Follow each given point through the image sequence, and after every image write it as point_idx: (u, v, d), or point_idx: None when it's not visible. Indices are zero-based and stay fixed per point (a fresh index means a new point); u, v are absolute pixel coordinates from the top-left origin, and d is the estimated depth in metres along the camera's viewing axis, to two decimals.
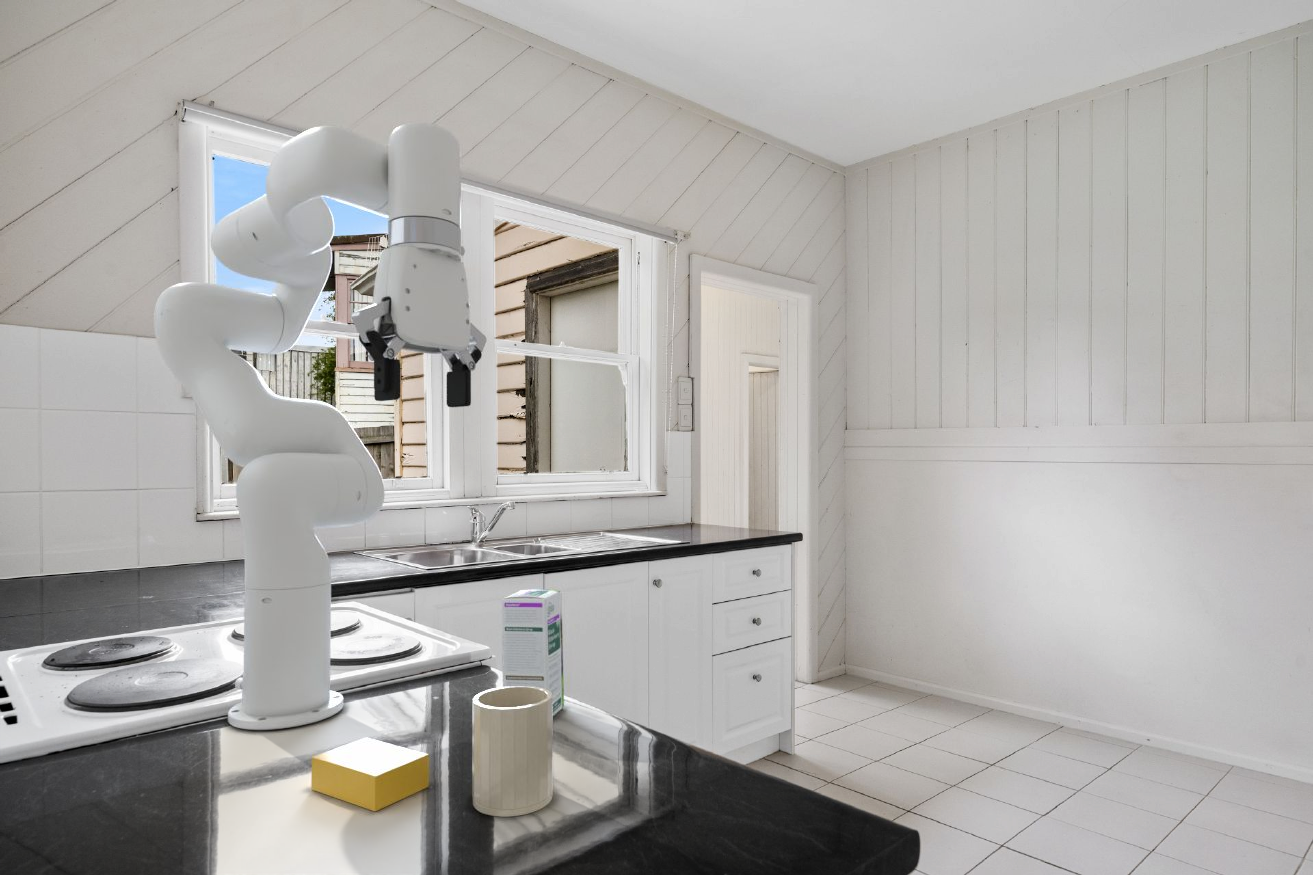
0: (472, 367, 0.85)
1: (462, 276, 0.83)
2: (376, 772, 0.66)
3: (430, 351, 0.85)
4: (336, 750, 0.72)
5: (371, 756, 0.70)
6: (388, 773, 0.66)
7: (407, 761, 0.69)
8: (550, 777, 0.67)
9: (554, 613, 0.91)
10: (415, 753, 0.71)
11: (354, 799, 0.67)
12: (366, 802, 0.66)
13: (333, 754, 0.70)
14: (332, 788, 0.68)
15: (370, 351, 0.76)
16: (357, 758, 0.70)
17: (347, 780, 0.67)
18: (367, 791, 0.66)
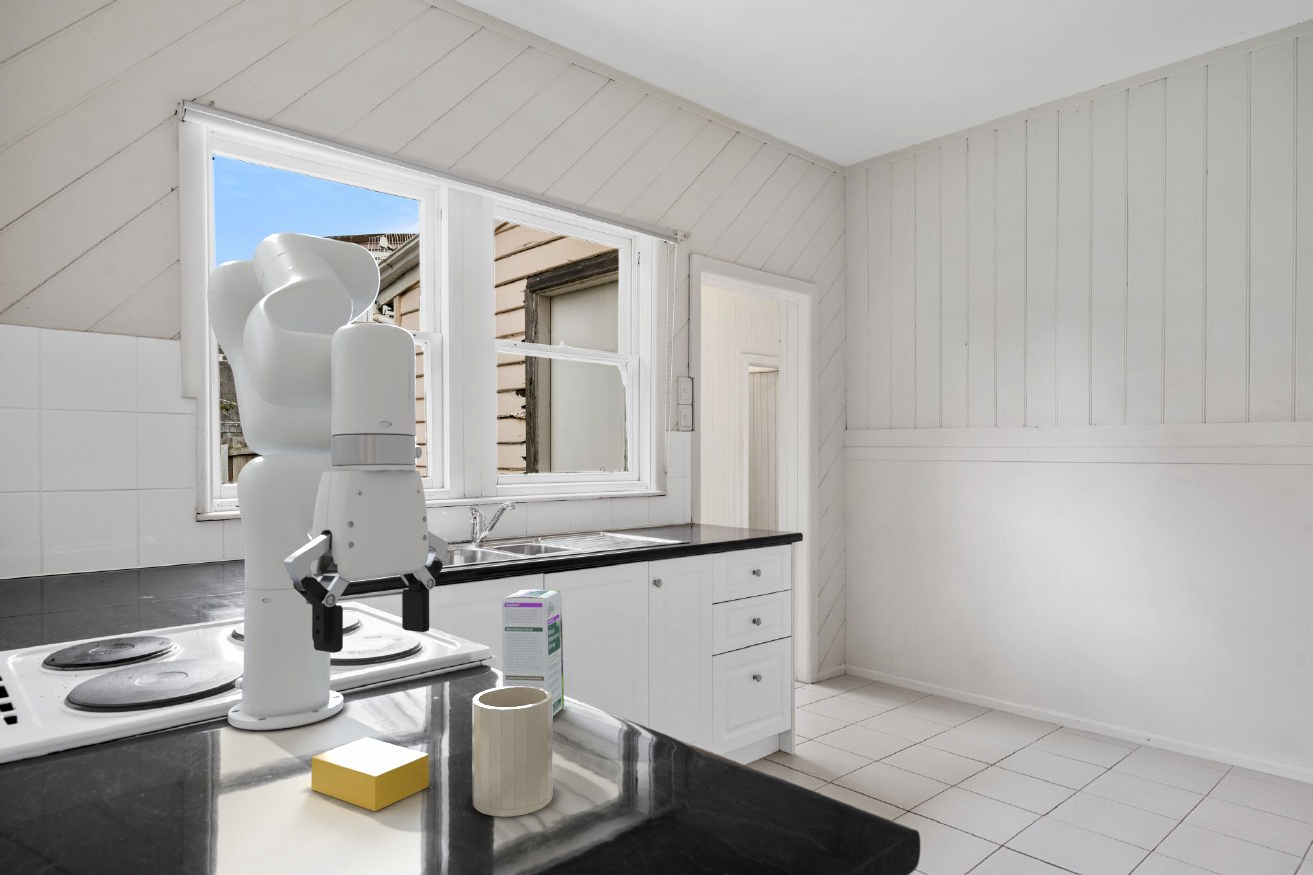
0: (431, 585, 0.75)
1: (418, 487, 0.73)
2: (376, 772, 0.66)
3: None
4: (336, 750, 0.72)
5: (371, 756, 0.70)
6: (388, 773, 0.66)
7: (407, 761, 0.69)
8: (550, 777, 0.67)
9: (554, 613, 0.91)
10: (415, 753, 0.71)
11: (354, 799, 0.67)
12: (366, 802, 0.66)
13: (333, 754, 0.70)
14: (332, 788, 0.68)
15: (307, 598, 0.65)
16: (357, 758, 0.70)
17: (347, 780, 0.67)
18: (367, 791, 0.66)
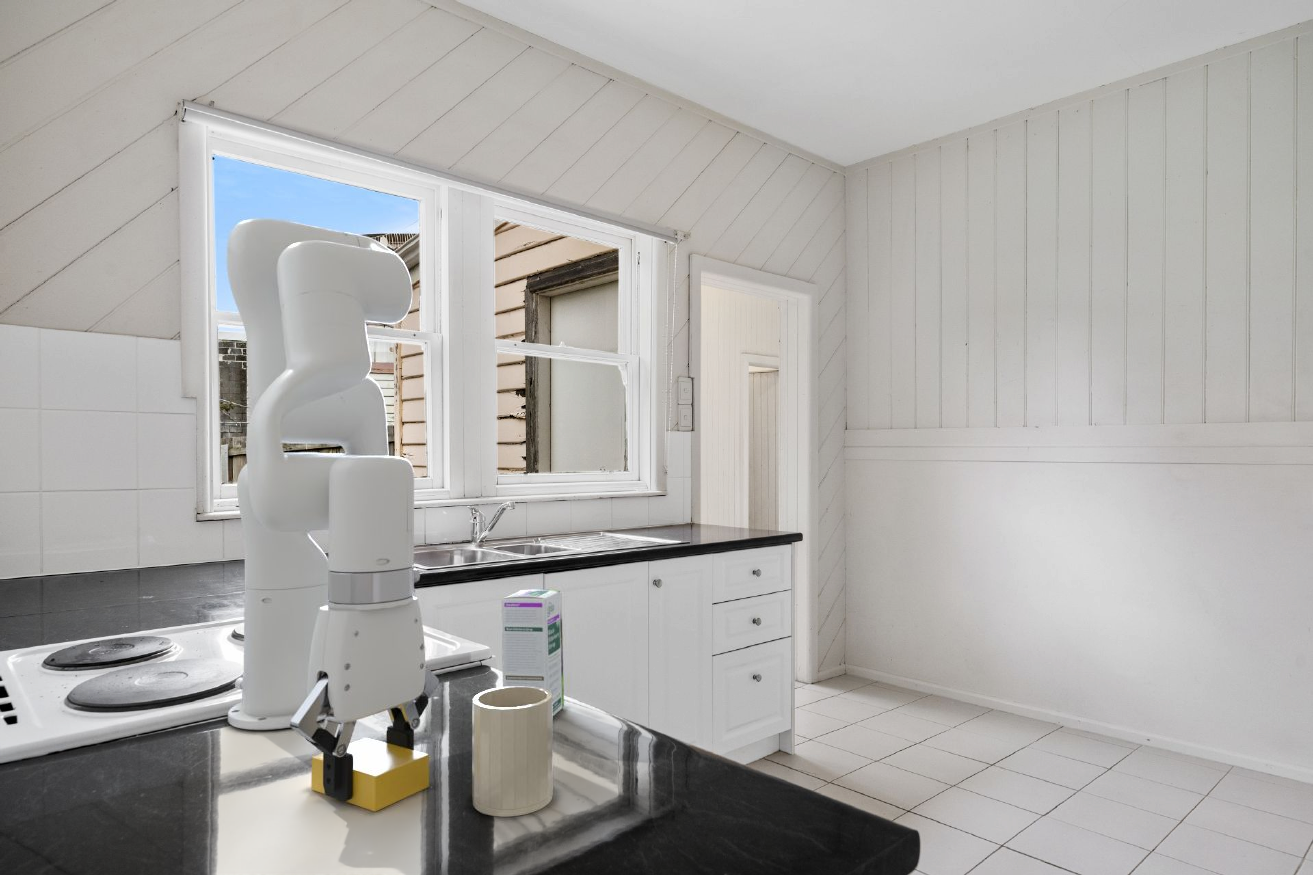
0: (416, 724, 0.73)
1: (415, 616, 0.72)
2: (376, 773, 0.66)
3: None
4: None
5: (371, 756, 0.70)
6: (388, 774, 0.66)
7: (407, 762, 0.69)
8: (550, 777, 0.67)
9: (554, 613, 0.91)
10: (415, 753, 0.71)
11: (354, 800, 0.67)
12: (366, 802, 0.66)
13: None
14: None
15: (318, 747, 0.66)
16: (357, 758, 0.70)
17: None
18: (367, 792, 0.66)
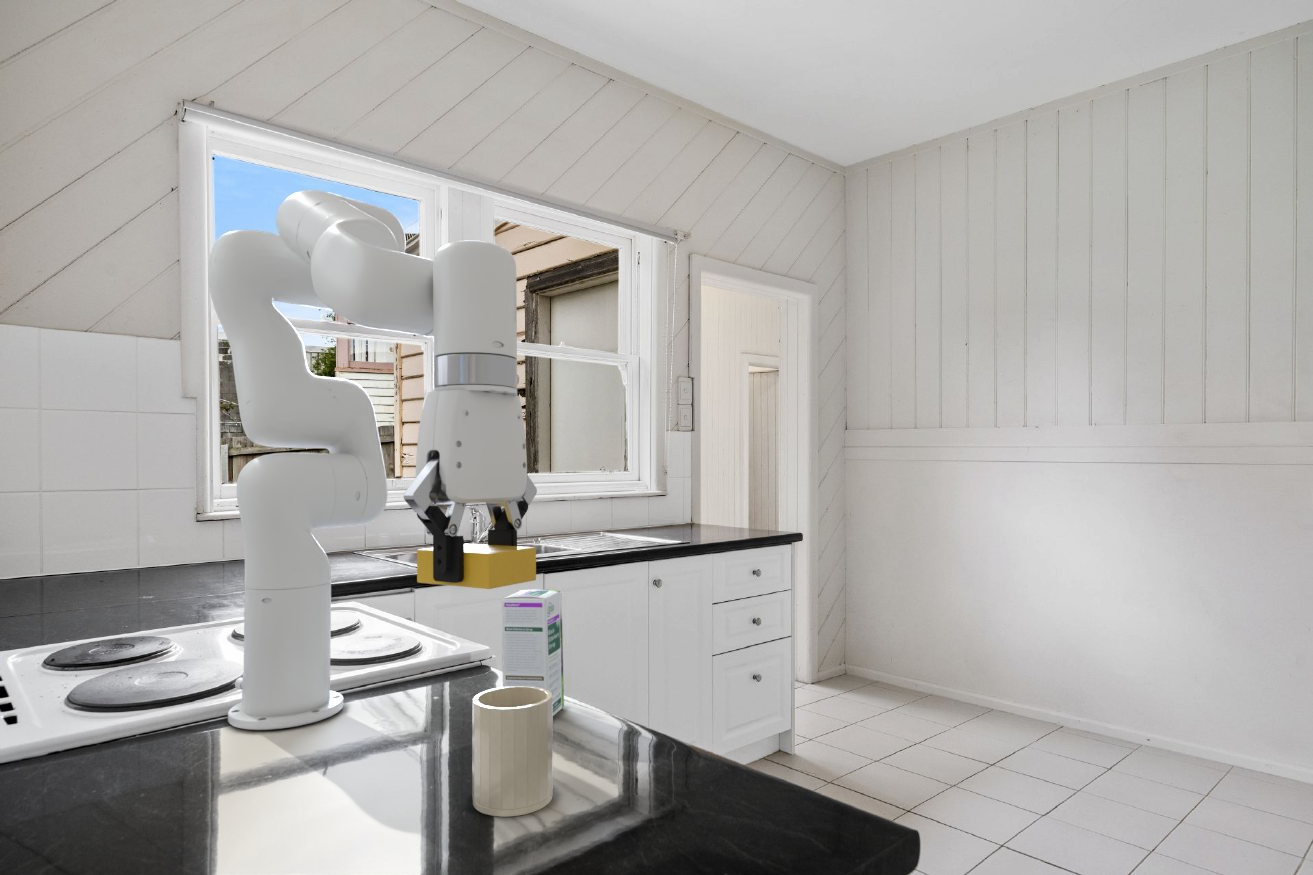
0: (518, 525, 0.72)
1: (518, 413, 0.71)
2: (488, 552, 0.65)
3: None
4: None
5: (478, 548, 0.69)
6: (500, 555, 0.65)
7: (516, 549, 0.67)
8: (550, 777, 0.67)
9: (554, 613, 0.91)
10: (521, 547, 0.69)
11: (466, 582, 0.65)
12: (479, 581, 0.65)
13: None
14: None
15: (429, 527, 0.65)
16: None
17: None
18: (480, 570, 0.65)
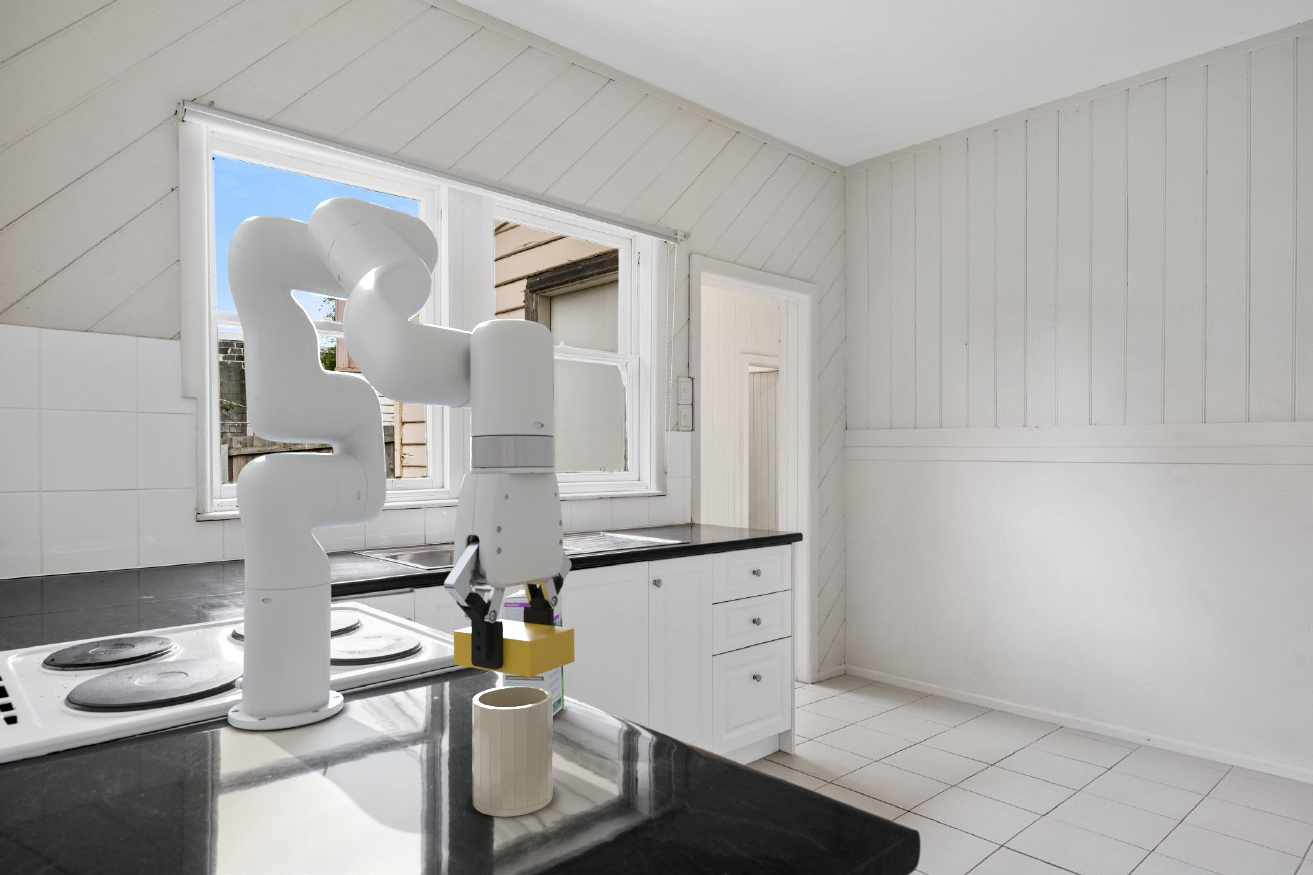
0: (554, 602, 0.71)
1: (555, 490, 0.70)
2: (529, 639, 0.64)
3: None
4: None
5: (516, 630, 0.68)
6: (540, 641, 0.64)
7: (555, 632, 0.66)
8: (550, 777, 0.67)
9: (554, 613, 0.91)
10: (560, 628, 0.68)
11: (506, 668, 0.65)
12: (520, 669, 0.64)
13: None
14: None
15: (469, 613, 0.64)
16: None
17: None
18: (521, 658, 0.64)
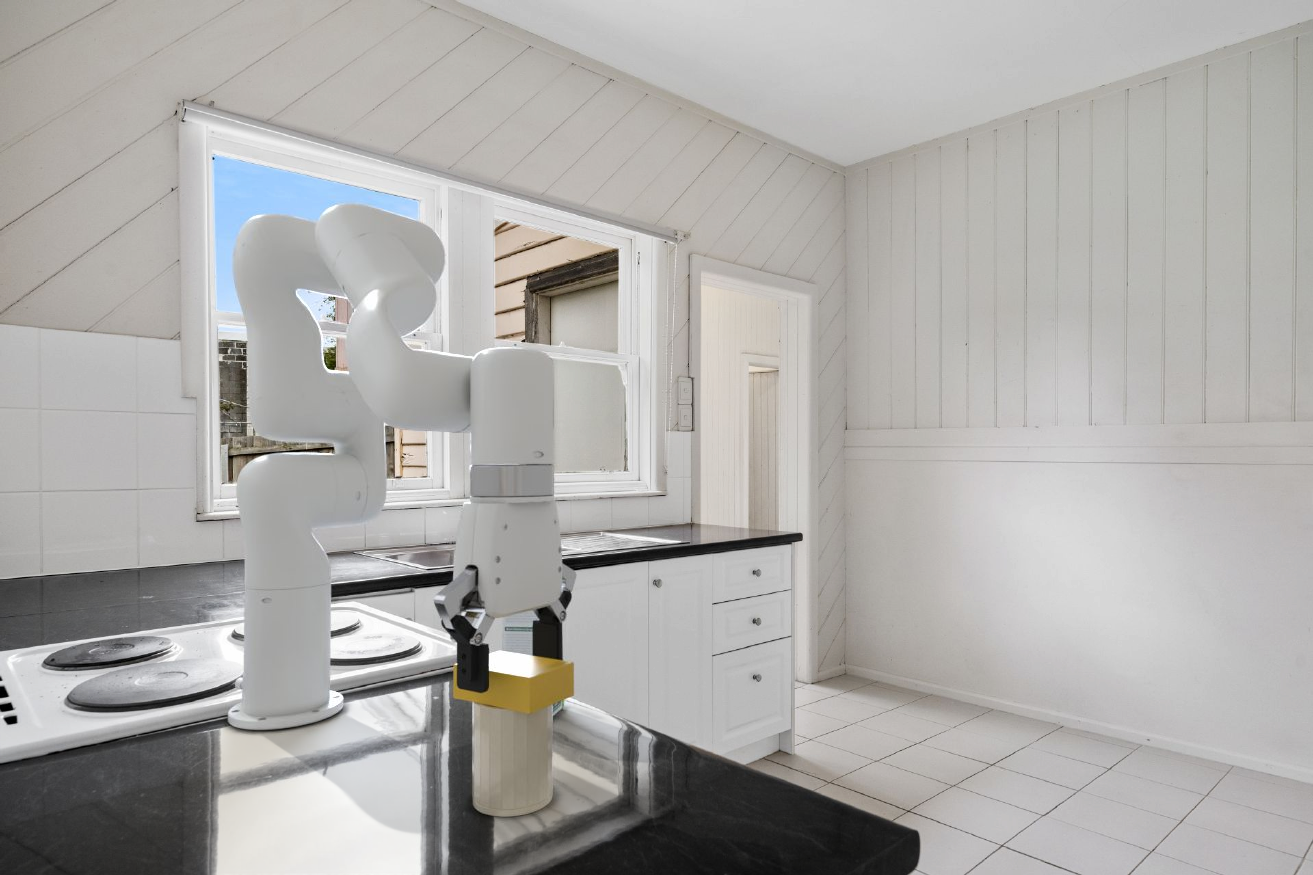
0: (563, 617, 0.72)
1: (554, 517, 0.70)
2: (529, 675, 0.64)
3: None
4: None
5: (515, 663, 0.68)
6: (540, 677, 0.64)
7: (555, 667, 0.66)
8: (550, 777, 0.67)
9: None
10: (559, 661, 0.68)
11: (505, 704, 0.64)
12: (519, 705, 0.64)
13: None
14: (478, 694, 0.66)
15: (454, 636, 0.63)
16: (501, 665, 0.67)
17: (497, 684, 0.65)
18: (521, 694, 0.64)
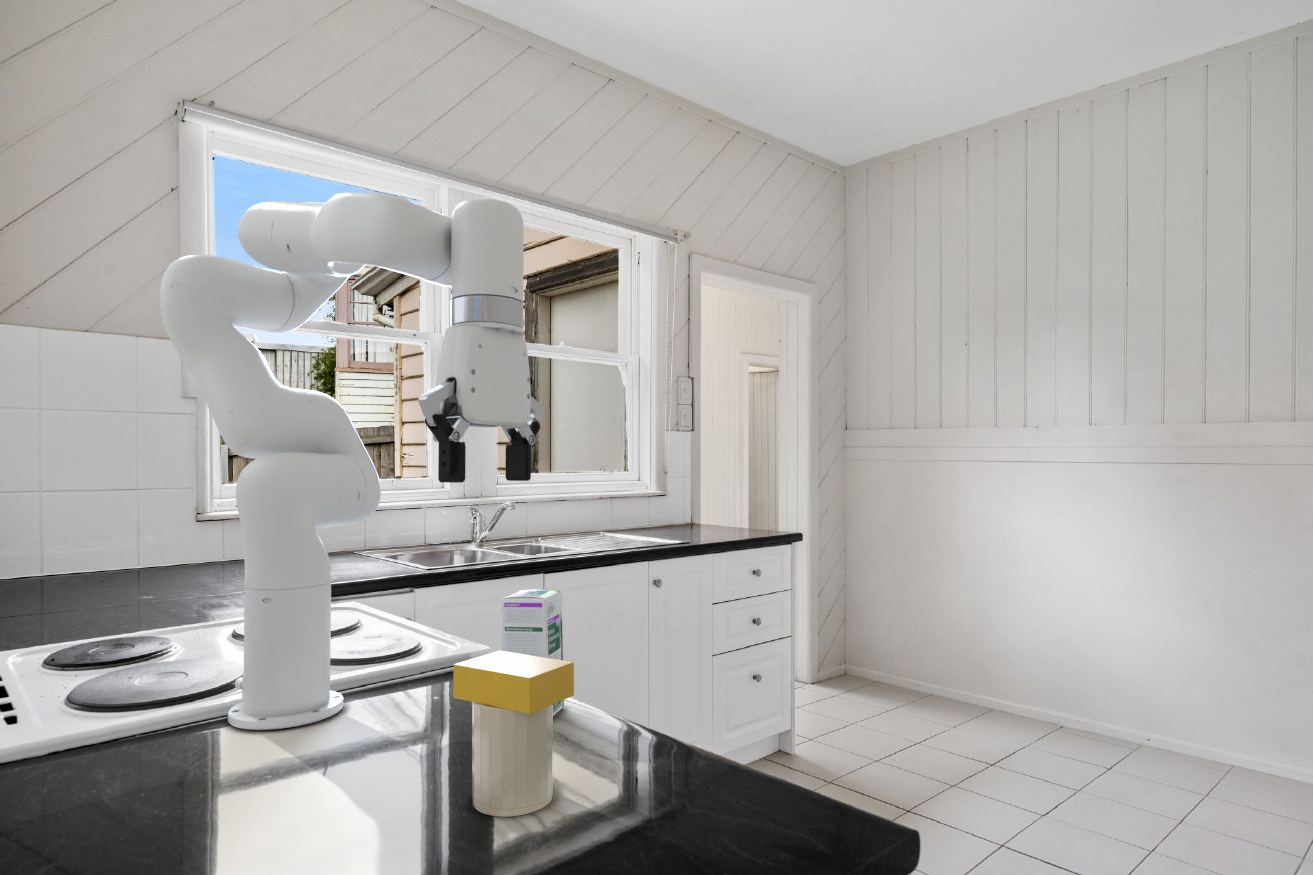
0: (532, 441, 0.84)
1: (523, 350, 0.82)
2: (529, 675, 0.64)
3: (490, 424, 0.84)
4: (475, 659, 0.69)
5: (515, 663, 0.68)
6: (540, 677, 0.64)
7: (555, 667, 0.66)
8: (550, 777, 0.67)
9: (554, 613, 0.91)
10: (559, 661, 0.68)
11: (505, 704, 0.64)
12: (519, 705, 0.64)
13: (475, 662, 0.68)
14: (478, 694, 0.66)
15: (435, 434, 0.75)
16: (501, 665, 0.67)
17: (497, 684, 0.65)
18: (521, 694, 0.64)
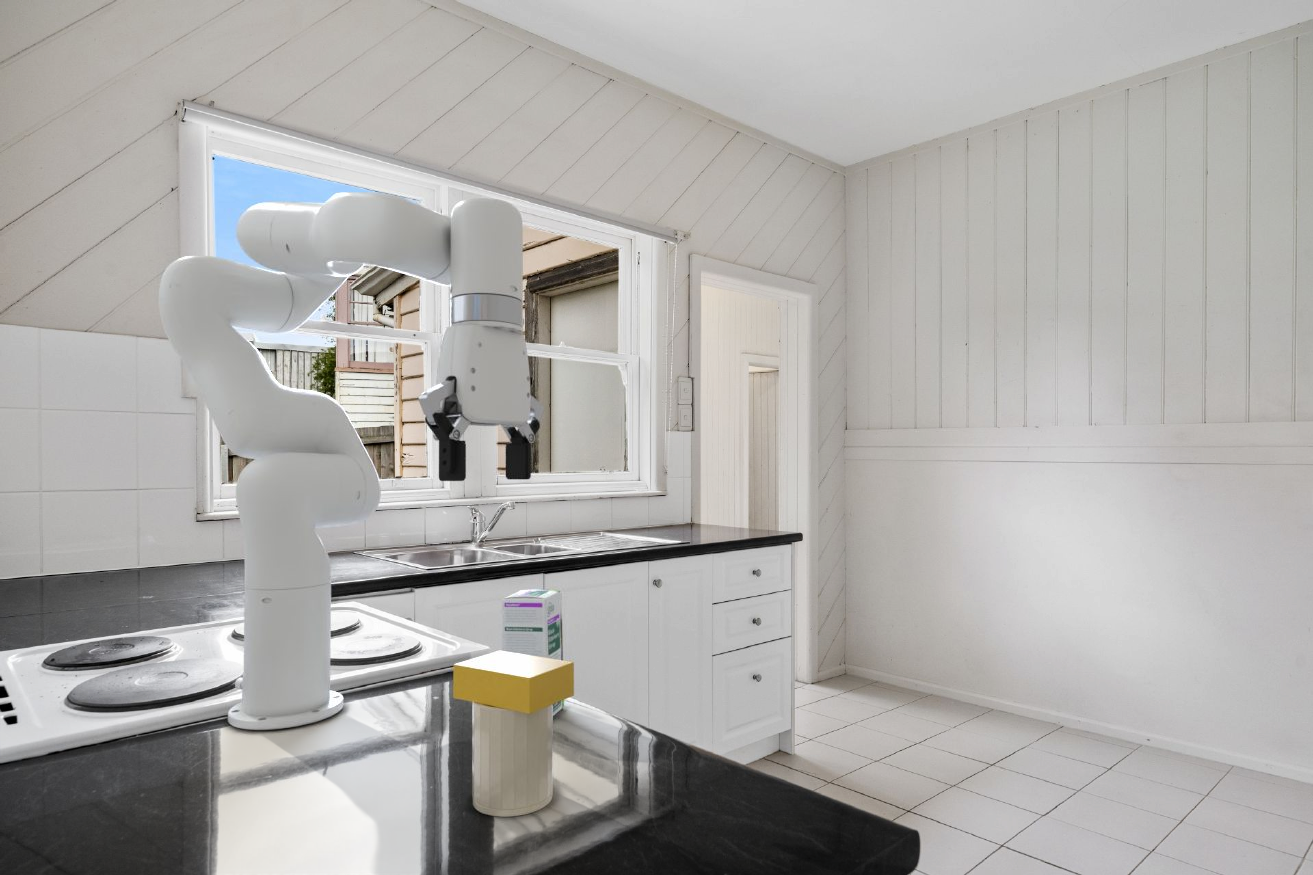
0: (531, 439, 0.84)
1: (523, 349, 0.82)
2: (529, 675, 0.64)
3: (489, 423, 0.84)
4: (475, 659, 0.69)
5: (515, 663, 0.68)
6: (540, 677, 0.64)
7: (555, 667, 0.66)
8: (550, 777, 0.67)
9: (554, 613, 0.91)
10: (559, 661, 0.68)
11: (505, 704, 0.64)
12: (519, 705, 0.64)
13: (475, 662, 0.68)
14: (478, 694, 0.66)
15: (436, 432, 0.75)
16: (501, 665, 0.67)
17: (497, 684, 0.65)
18: (521, 694, 0.64)
